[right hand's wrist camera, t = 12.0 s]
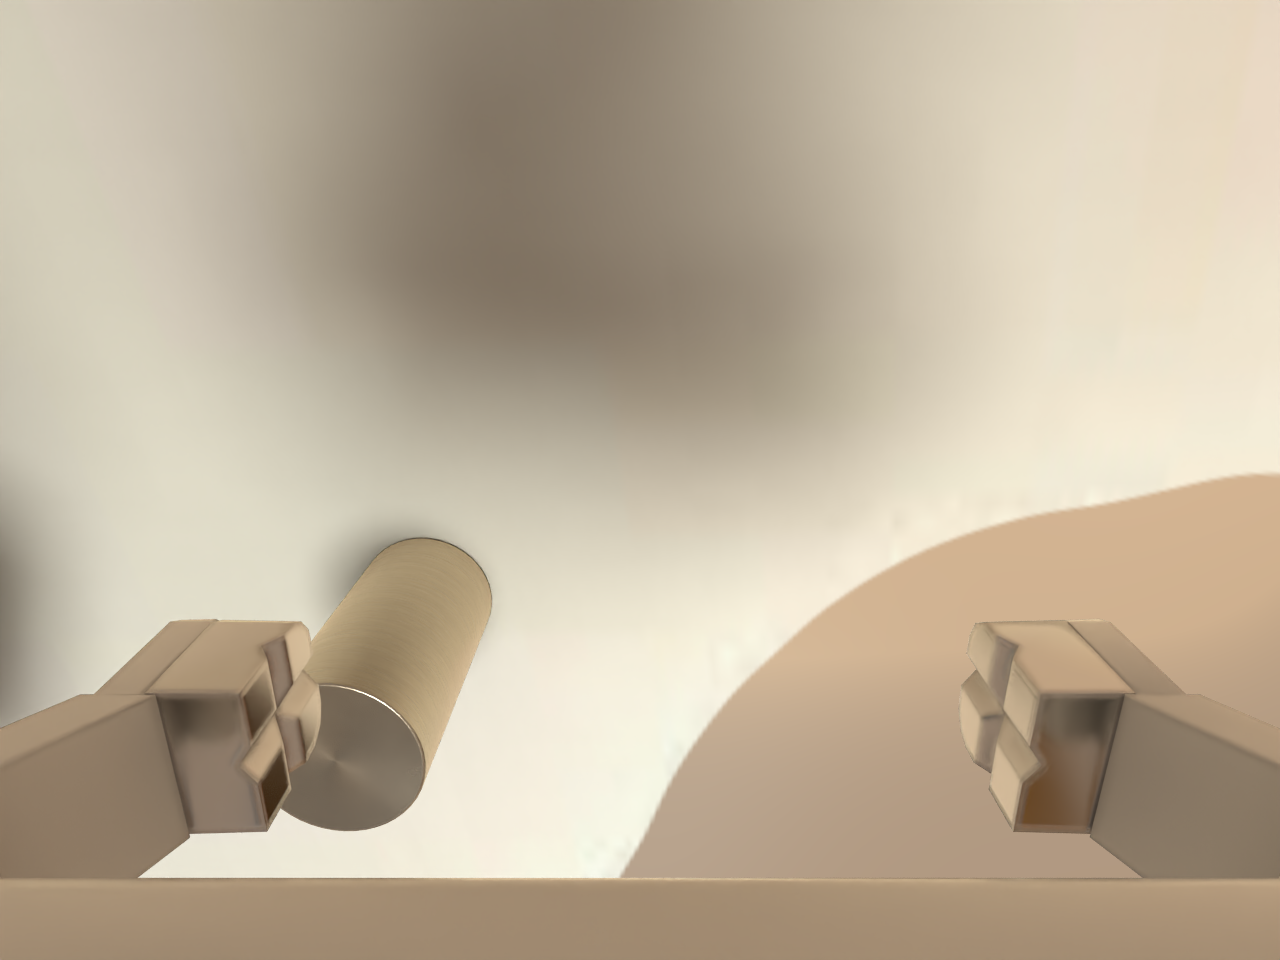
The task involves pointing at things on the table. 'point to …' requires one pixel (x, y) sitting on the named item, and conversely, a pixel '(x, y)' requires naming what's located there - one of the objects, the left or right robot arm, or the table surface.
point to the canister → (388, 683)
